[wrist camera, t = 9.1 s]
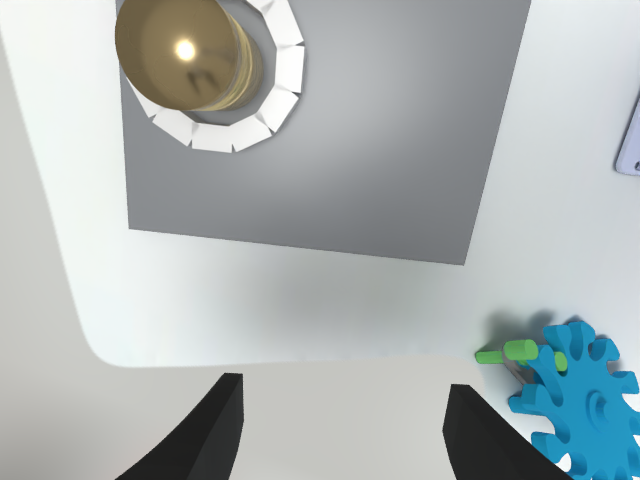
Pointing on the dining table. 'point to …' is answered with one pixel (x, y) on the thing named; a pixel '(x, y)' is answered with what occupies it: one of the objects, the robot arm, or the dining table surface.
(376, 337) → the dining table surface
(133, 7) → the brass shaft
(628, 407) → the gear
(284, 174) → the housing plate
